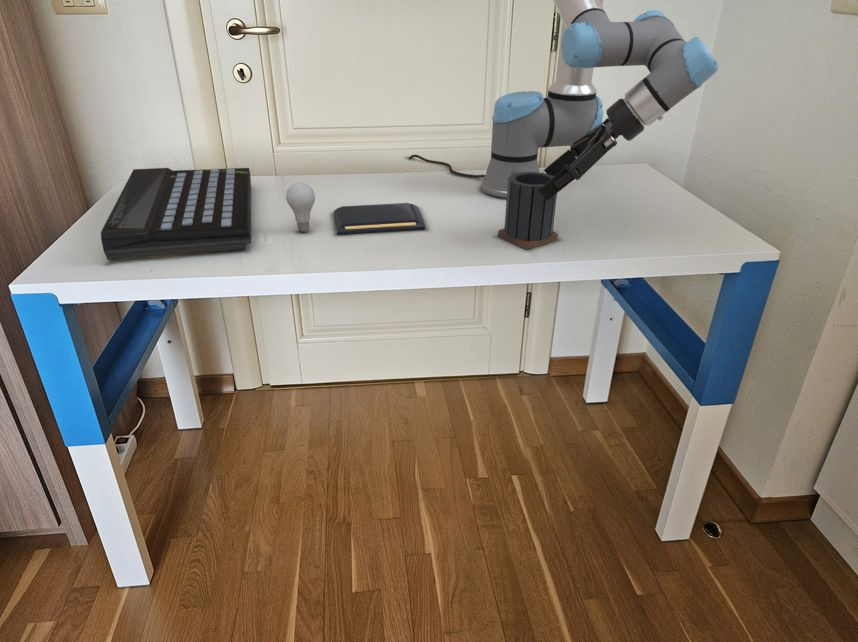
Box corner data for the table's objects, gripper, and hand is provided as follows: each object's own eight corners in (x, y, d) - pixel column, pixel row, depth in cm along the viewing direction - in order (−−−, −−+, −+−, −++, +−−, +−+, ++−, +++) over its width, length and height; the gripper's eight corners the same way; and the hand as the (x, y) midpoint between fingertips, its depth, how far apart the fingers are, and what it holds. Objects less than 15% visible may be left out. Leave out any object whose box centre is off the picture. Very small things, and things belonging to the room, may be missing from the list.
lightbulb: (295, 239, 140) (289, 189, 134) (286, 229, 145) (280, 180, 139) (322, 234, 142) (318, 184, 137) (312, 225, 147) (308, 177, 141)
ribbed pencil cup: (495, 230, 141) (498, 177, 134) (528, 220, 146) (533, 169, 140) (528, 244, 134) (533, 189, 128) (561, 233, 139) (568, 180, 133)
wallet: (417, 199, 156) (426, 222, 143) (417, 207, 157) (425, 230, 144) (333, 203, 154) (334, 226, 141) (333, 211, 155) (335, 235, 142)
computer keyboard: (252, 253, 133) (247, 222, 130) (107, 265, 128) (98, 233, 125) (252, 186, 171) (248, 160, 167) (139, 193, 166) (133, 167, 162)
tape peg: (497, 236, 141) (500, 194, 136) (527, 227, 146) (531, 186, 141) (527, 249, 135) (531, 205, 130) (557, 239, 140) (562, 196, 135)
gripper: (650, 144, 113) (553, 219, 124) (643, 113, 134) (560, 180, 145) (623, 110, 112) (528, 189, 123) (621, 84, 132) (539, 154, 143)
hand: (545, 184), depth 134 cm, fingers open, 13 cm apart
